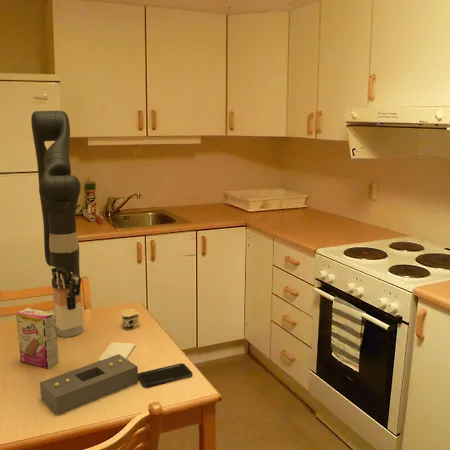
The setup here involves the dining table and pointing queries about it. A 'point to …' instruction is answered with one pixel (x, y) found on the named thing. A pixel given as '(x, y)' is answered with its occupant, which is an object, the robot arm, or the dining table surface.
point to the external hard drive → (118, 350)
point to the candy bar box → (37, 337)
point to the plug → (66, 310)
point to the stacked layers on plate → (130, 317)
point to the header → (88, 383)
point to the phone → (164, 375)
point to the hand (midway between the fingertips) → (67, 306)
